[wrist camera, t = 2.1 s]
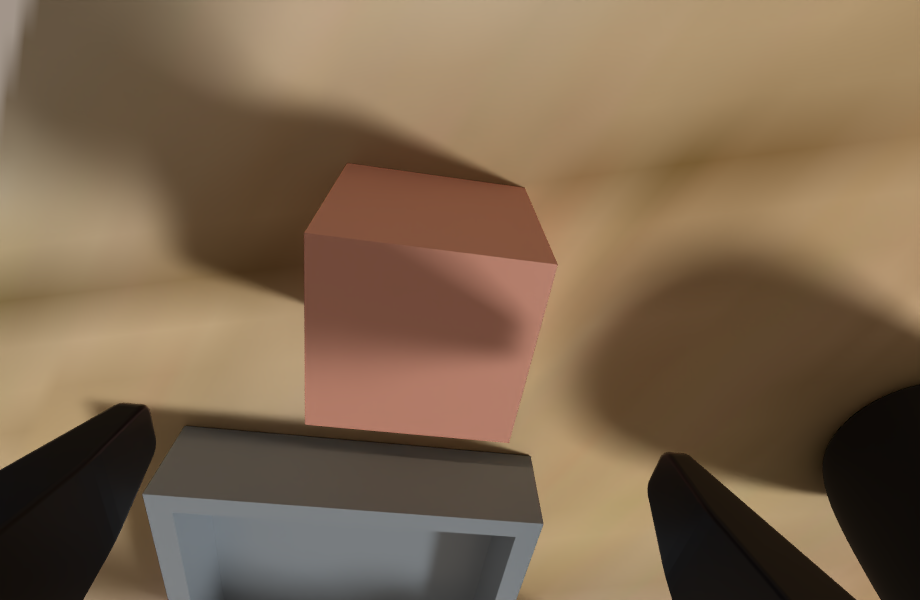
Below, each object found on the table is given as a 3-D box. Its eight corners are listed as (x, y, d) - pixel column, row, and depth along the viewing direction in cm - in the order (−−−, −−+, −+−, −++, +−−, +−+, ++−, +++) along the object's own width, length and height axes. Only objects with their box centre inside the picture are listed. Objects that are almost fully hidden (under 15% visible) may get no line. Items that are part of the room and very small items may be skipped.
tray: (530, 456, 20) (543, 524, 17) (479, 622, 26) (483, 691, 23) (184, 425, 19) (142, 494, 16) (214, 607, 25) (187, 678, 22)
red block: (524, 187, 14) (558, 264, 10) (492, 331, 17) (508, 442, 13) (347, 162, 14) (303, 232, 10) (341, 314, 16) (305, 424, 12)
